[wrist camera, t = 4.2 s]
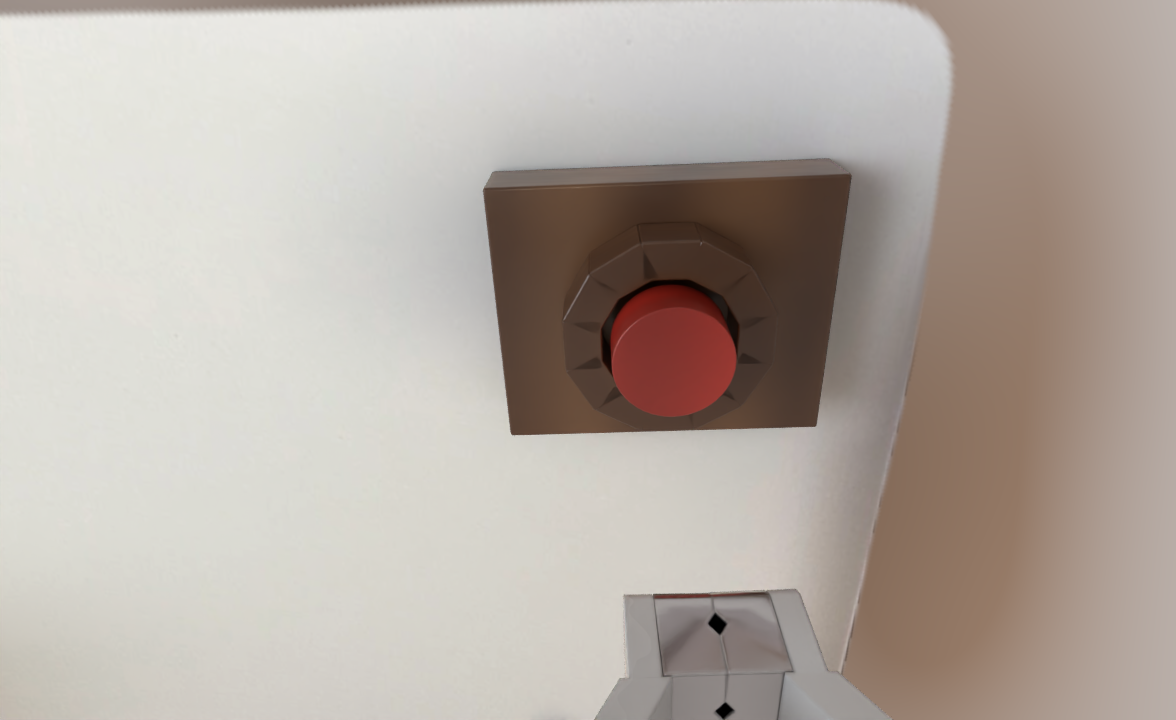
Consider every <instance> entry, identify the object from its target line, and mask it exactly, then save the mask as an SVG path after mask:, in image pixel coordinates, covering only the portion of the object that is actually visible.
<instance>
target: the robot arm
mask: <svg viewBox="0 0 1176 720" xmlns="http://www.w3.org/2000/svg"><path fill="white" fill-rule="evenodd" d="M623 616H624V658H625V678H620V679H619V681H618V682H617V684H616V685H615V687H614V689H613V690H612V692H611V693H610V695H609V697H608V698H607V700H606V701H605V703H604V705H603V706H602V708H601V709H600V711H599V713H598V714H597V716H596V718H595V719H594V720H893V719H891V718H890V717H889V716H888V715H887V714H886V713H885V712H883V711H882V710H881V709H880V708H879V707H878V706H877V705H876V704H874V703H873V702H872V701H871V700H870V699H869V698H867V697H866V696H865V695H864V694H863V693H862V692H861V691H859V690H858V689H857V688H856V687H855V686H854V685H853V684H851V683H850V682H849V681H848V680H847V679H846V678H845V677H844V676H842V675H841V674H840V673H839V672H838V671H828V669H827V666H826V663H825V660H824V658H823V655H822V652H821V649H820V647H819V644H818V641H817V638H816V636H815V633H814V630H813V627H812V625H811V622H810V619H809V616H808V614H807V611H806V608H805V606H804V603H803V600H802V597H801V595H800V593H799V592H798V591H797V590H796V589H784V590H767V591H765V590H753V591H732V592H711V593H696V594H653V596H652V594H639V595H624V596H623Z"/></svg>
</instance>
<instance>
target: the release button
mask: <svg viewBox="0 0 1176 720" xmlns="http://www.w3.org/2000/svg"><path fill="white" fill-rule="evenodd" d="M611 363H612V374H613V378H614V381H615V383H616V386H617V387H618V389H619V391H620V392H621V394H622V395H623V396H624V397H625V398H626V399H627V400H628V401H629V402H630V403H631V404H633V405H634V406H635V407H637V408H639V409H641V410H643V411H645V412H647V413H650V414H654V415H658V416H665V417H676V416H684V415H689V414H692V413H695V412H698V411H700V410H702V409H704V408H706V407H708V406H709V405H711V404H712V403H713V402H715V401H716V400H717V399H718V398H719V397H720V396H721V395H722V394H723V393H724V392H725V391H726V389H727V388H728V386H729V385H730V383H731V381H732V378H733V376H734V373H735V370H736V363H737V355H736V348H735V345H734V342H733V339H732V337H731V334H730V331H729V329H728V326H727V324H726V321H725V319H724V316H723V314H722V312H721V310H720V309H719V307H718V306H717V305H716V303H715V302H714V301H713V300H712V299H711V298H709V297H708V296H707V295H705V294H704V293H702V292H700V291H698V290H696V289H694V288H691V287H687V286H683V285H661V286H656V287H652V288H649V289H647V290H644V291H642V292H640V293H639V294H637V295H636V296H634V297H633V298H631V299H630V300H629V301H628V302H627V303H626V304H625V305H624V306H623V307H622V308H621V310H620V311H619V313H618V314H617V316H616V318H615V320H614V323H613V326H612V330H611Z"/></svg>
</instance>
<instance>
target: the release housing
mask: <svg viewBox="0 0 1176 720" xmlns="http://www.w3.org/2000/svg"><path fill="white" fill-rule="evenodd" d="M851 177H852V176H851V174H850V173H848V172H847V171H846V170H844V169H843V168H842V167H840V166H839V165H837V164H836V163H835V162H833V161H832V160H831V159H806V160H780V161H755V162H729V163H704V164H678V165H653V166H627V167H601V168H576V169H550V170H525V171H499V172H493V173H492V174H491V176H490V178H489V180H488V182H487V183H486V185H485V187H484V189H483V195H484V203H485V212H486V221H487V230H488V239H489V247H490V256H491V265H492V274H493V282H494V291H495V300H496V309H497V317H498V326H499V335H500V344H501V353H502V361H503V370H504V379H505V388H506V396H507V405H508V414H509V423H510V432H511V434H512V435H540V434H576V433H611V432H646V431H681V430H716V429H751V428H786V427H815V426H816V424H817V418H818V411H819V404H820V396H821V389H822V382H823V375H824V368H825V361H826V354H827V347H828V340H829V333H830V326H831V319H832V312H833V304H834V297H835V290H836V283H837V276H838V269H839V262H840V255H841V248H842V241H843V234H844V227H845V220H846V213H847V205H848V198H849V191H850V184H851ZM661 285H683V286H687V287H691V288H694V289H696V290H698V291H700V292H702V293H704V294H705V295H707V296H708V297H709V298H711V299H712V300H713V301H714V302H715V303H716V305H717V306H718V307H719V309H720V310H721V312H722V314H723V316H724V319H725V321H726V324H727V326H728V329H729V331H730V334H731V337H732V339H733V342H734V345H735V348H736V355H737V363H736V370H735V373H734V376H733V378H732V381H731V383H730V385H729V386H728V388H727V389H726V391H725V392H724V393H723V394H722V395H721V396H720V397H719V398H718V399H717V400H716V401H715V402H713V403H712V404H711V405H709V406H708V407H706V408H704V409H702V410H700V411H698V412H695V413H692V414H689V415H684V416H676V417H665V416H658V415H654V414H650V413H647V412H645V411H643V410H641V409H639V408H637V407H635V406H634V405H633V404H631V403H630V402H629V401H628V400H627V399H626V398H625V397H624V396H623V395H622V394H621V392H620V391H619V389H618V387H617V386H616V383H615V381H614V378H613V374H612V363H611V330H612V326H613V323H614V320H615V318H616V316H617V314H618V313H619V311H620V310H621V308H622V307H623V306H624V305H625V304H626V303H627V302H628V301H629V300H630V299H631V298H633V297H634V296H636V295H637V294H639V293H640V292H642V291H644V290H647V289H649V288H652V287H656V286H661Z"/></svg>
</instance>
